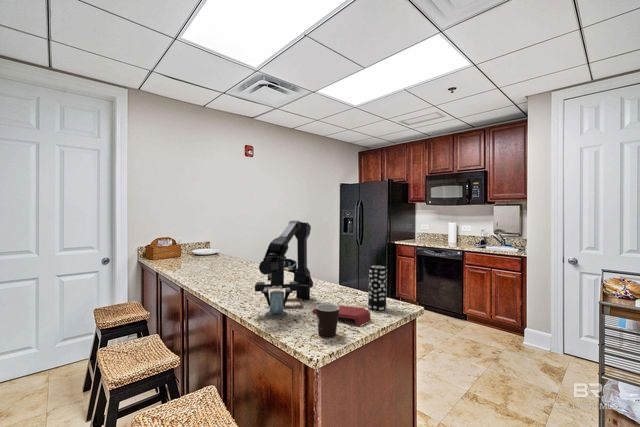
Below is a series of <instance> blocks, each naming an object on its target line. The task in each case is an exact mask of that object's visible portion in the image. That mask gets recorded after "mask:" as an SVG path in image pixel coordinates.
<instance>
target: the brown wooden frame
mask: <svg viewBox="0 0 640 427" xmlns="http://www.w3.org/2000/svg"><path fill="white" fill-rule="evenodd" d="M287 302H299V303H300V304H294V305H293V304H292V305H291V304H290V305H286V304H285V306H284V310H285V309H290V310H291V309H304V303H303V300H302V299H301V298H297V297H295V298H287V301H286V303H287Z"/></svg>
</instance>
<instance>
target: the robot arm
mask: <svg viewBox="0 0 640 427" xmlns="http://www.w3.org/2000/svg"><path fill="white" fill-rule="evenodd" d="M311 229H312V227H311V224H309V222H304V221H303V222H302V221H300V220H289V221H288V225H287V226H286V227H285V228H284V230H283V231H282V233H281V234H280V236H278V237H276V238H274V239H273V240H272V241H271V242H270V243H269V245H268V247H267V250H266V252H265V255H264V257H263V260H262V261H261V262H260V263H259V266H258V270H259V272H260V273H261V274H263V275H265V276H266V275H267V281H268V282H269V281H270V283H269V284H268V283H265V281H256V282H255V284H254V292H261V294H264V298H265V299H266V302H267V306H268V307H269V308H270V291H269V290H270V289H271V290H273V289H285V290H284V306H285V305H286V304H287V302H286V301H287V299H289V297H290V294H292V293H293V292H295V295H296V296H295V298H301V299H302V301H304V300H305V301H307V300H309V301H310V300H311V288H312V289H313V288H314V281H313V279H312V277H311V271H310V269H309V268H308V238H309V236H310V235H311ZM294 236H295V238H296V240H297V241H296V242H297V244H296V246H297V253H296V254H297V255H296V256H297V268H296V270H295V271H294V272H293V281H289V282H288V283H285V260H286V259H287V256H286V253H288V250H289V243H290V242H291V240H292V239H293V237H294Z"/></svg>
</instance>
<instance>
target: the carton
mask: <svg viewBox="0 0 640 427" xmlns="http://www.w3.org/2000/svg"><path fill="white" fill-rule="evenodd" d="M337 306H338V307H339V314H338V318H344V319H350V320H354V322H355V326H357V325H359V326H358V327H361V326H360V325H362V324H364V323H366V322H368V321H370V320H371V311H370V310H369V309H366V308H364V307H357V306H348V305H347V306H346V305H339V304H338V305H337ZM312 314H315V315H317V313H316V307H315V308H314V309H312ZM370 322H371V321H370ZM368 323H369V322H368ZM366 324H367V323H366ZM364 325H365V324H364ZM362 326H363V325H362Z"/></svg>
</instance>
